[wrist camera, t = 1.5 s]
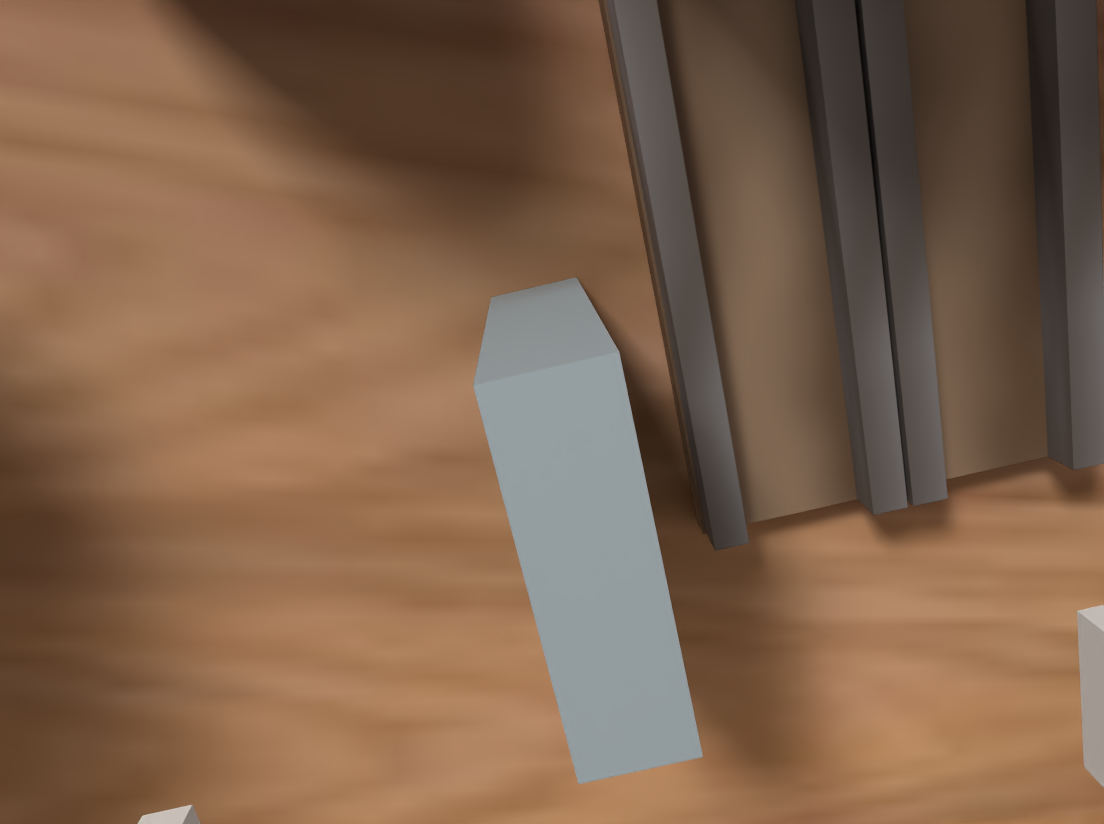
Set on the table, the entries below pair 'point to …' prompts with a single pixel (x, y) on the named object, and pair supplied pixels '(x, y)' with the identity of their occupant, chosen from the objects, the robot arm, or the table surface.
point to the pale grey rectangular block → (584, 530)
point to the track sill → (867, 241)
